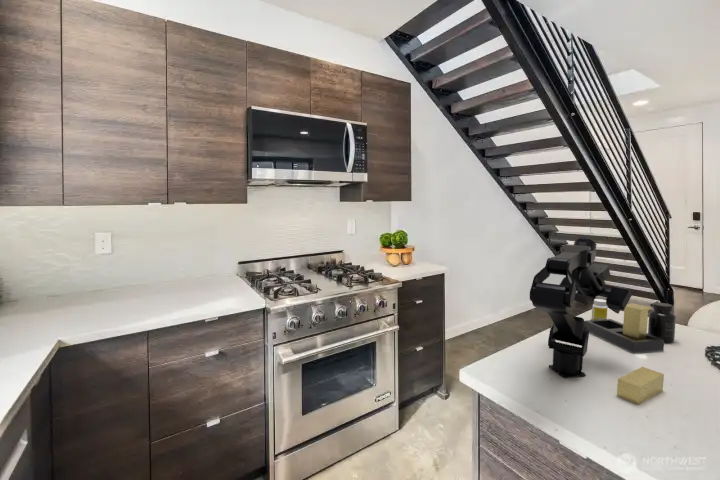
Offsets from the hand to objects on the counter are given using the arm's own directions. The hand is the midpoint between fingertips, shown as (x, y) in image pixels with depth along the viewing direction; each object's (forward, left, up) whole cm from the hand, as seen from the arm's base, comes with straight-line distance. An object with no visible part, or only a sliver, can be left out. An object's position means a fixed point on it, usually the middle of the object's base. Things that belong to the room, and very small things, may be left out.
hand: (602, 308), depth 110 cm
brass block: (+13, +1, -13) cm, 19 cm away
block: (-10, -23, -14) cm, 29 cm away
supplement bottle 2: (+27, +5, -14) cm, 30 cm away
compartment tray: (+14, +7, -14) cm, 20 cm away
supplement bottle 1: (+21, +24, -14) cm, 34 cm away
